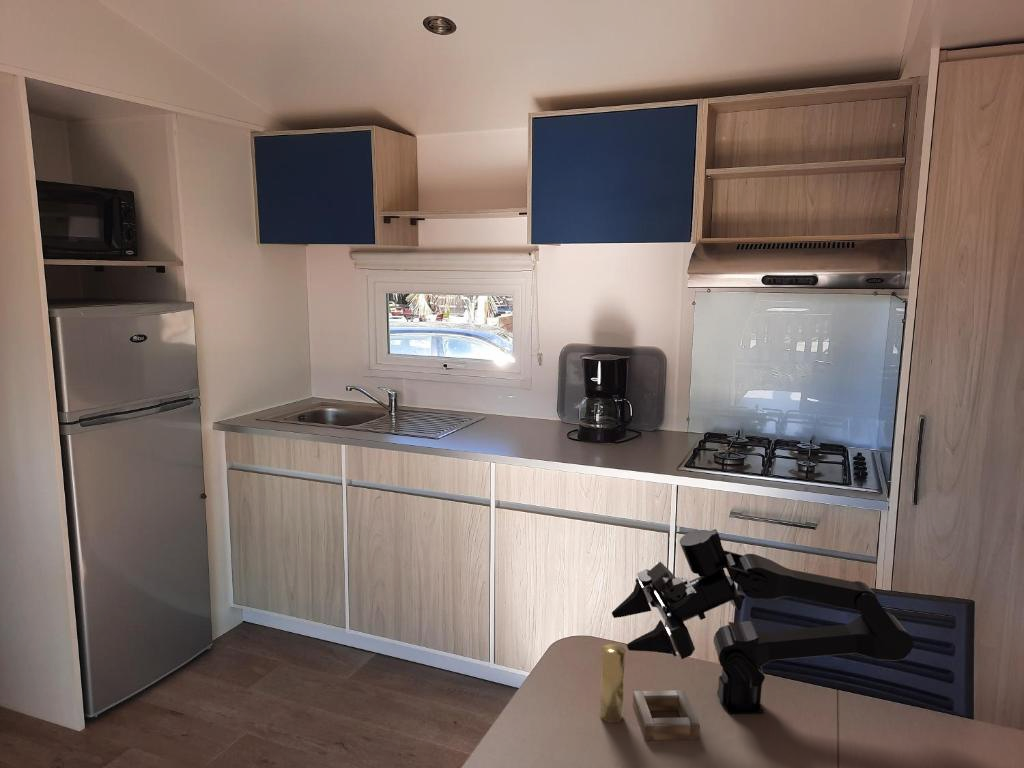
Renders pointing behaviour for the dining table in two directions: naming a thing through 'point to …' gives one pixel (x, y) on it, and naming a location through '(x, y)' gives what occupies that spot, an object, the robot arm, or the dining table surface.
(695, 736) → the shallow grey tray
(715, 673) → the dining table surface
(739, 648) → the robot arm
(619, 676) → the gold cylinder
